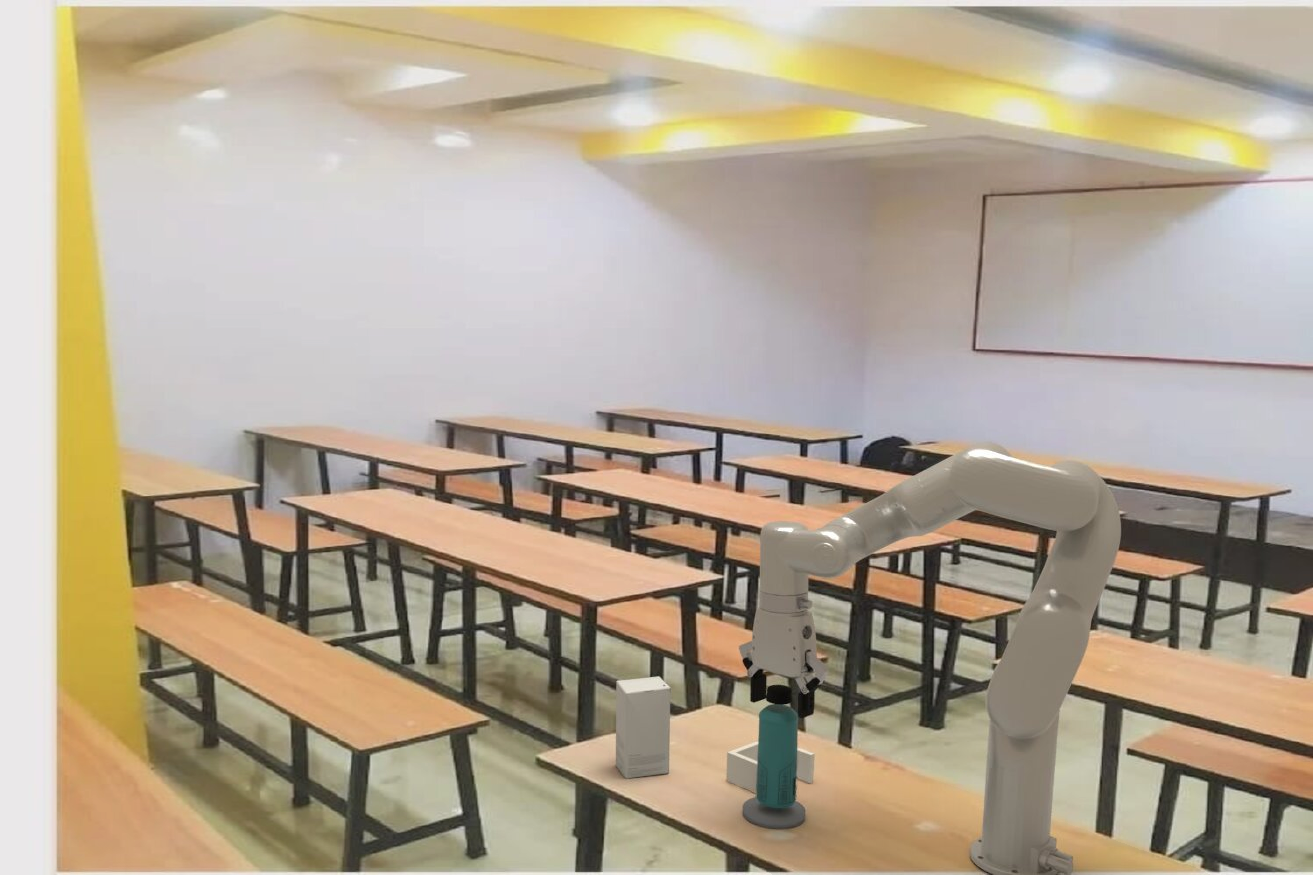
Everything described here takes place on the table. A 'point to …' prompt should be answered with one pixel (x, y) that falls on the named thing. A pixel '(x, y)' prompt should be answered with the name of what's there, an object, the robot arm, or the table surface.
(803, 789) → the table surface
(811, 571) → the robot arm
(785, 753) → the beverage bottle
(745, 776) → the white u-shaped bracket
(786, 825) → the pad
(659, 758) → the skincare box
